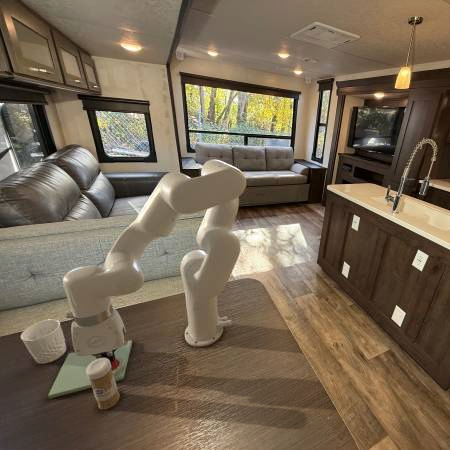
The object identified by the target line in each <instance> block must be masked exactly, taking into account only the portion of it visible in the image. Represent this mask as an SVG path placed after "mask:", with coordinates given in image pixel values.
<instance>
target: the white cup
mask: <svg viewBox="0 0 450 450" xmlns="http://www.w3.org/2000/svg"><path fill="white" fill-rule="evenodd" d="M20 339H21V341H22V342H23V344H24V346H25V347H26V350H27V351H28V352H29V354H30V355H31V356H32V358H33V360H34V361H35V362H36V363H37V364H40V365H45V364H48V363H52V362H54V361H56V360H58V359H59V358H61V357H62V356H63V355H64V354H65V352H66V351H67V343H66V339H65V336H64V332H63V328H62V325H61V321H59V320H58V319H56V318H50V319H44V320H41V321H38V322H36V323H33V324H31V325H30V326H28V327H26V328H25V329H24V330H23V331H22V332H21V334H20Z"/></svg>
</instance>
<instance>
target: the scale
mask: <svg viewBox="0 0 450 450" xmlns="http://www.w3.org/2000/svg"><path fill="white" fill-rule="evenodd" d="M132 345H133V340H132V339H130V340H129V339H128V343H127V345H125V346H122V347H120V348H118V349H117V350H116V351H115V352H114V354H115V358H116V359H117V361H118V367H117V368H116V369H114V370H113V371H112V373H113V375H114V379H115V382H117V381H121V380H124V379H125V374H126V370H127V366H128V362H129V357H130V353H131V350H132ZM95 360H97V359H96V357H95V356H92V355H88V356H77V355H76V353H75V351H74V352H69V353H67V356H66V358H65V360H64V362H63V364H62V365H61V368H60V370H59V371H58V375H57V376H56V378H55V380H54V383H53V385H52V386H51V389H50V390H49V392H48V395H47V397H48V399H53V398H57V397H60V396H64V395H68V394H72V393H76V392H79V391H84V390H88V389H90V388H92V385H91V382H90V379H89V378H88V377H87V374H86V369H87V367H88V365H89V364H90V363H92V362H93V361H95Z"/></svg>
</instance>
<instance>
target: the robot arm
mask: <svg viewBox="0 0 450 450" xmlns="http://www.w3.org/2000/svg"><path fill="white" fill-rule="evenodd" d="M246 187H247V178H246V176H245V174H244V173H243V171H242V170H240V169H239V168H237V167H236V166H234V165H231V164H229V163H227V162H224V161H222V160H219V159H209V160H206V162H204V164H203V165H202V167H201V171H200V176H196V177H190V176H189V175H186V174H184V173H182V172H178V171H170V172H167V173H166V174H164V175H163V176H162V177H161V179H160V180H159V182H158V183H157V185H156V187H155V188H154V190H153V191H152V192H151V195H150V196H149V198H148V199H147V201H146V203H145V204H144V205H143V207H142V209H141V211H140V212H139V214H138V215H137V217H136V218H135V220H134V221H133V222H131V224H129V225H128V226H127V228H125V229H124V230H123V231H122V232H121V234H120V235H119V236H118V238H117V239H116V240H115V242H114V244H113V245H112V247H111V249H110V250H109V252H108V254H107V255H106V258H105V260H104V269H103V268H101V267H100V266H98V265H83V266H79V267H76V268H73V269H71V270H70V271H68V272H66V273H65V274H64V276H63V278H62V285H63V289H64V293H65V295H66V299H67V301H68V304H69V307H70V310H71V311H69V312H66V314H65V317H66V319H73V320H72V322H71V327H70V329H71V330H70V331H71V341H72V345H73V350H74V352H75V353H76V355H77V356H88V355H92V356H95V357H96V359H99V358H108V359H109V360H110V363H111V366H112V362H114V361H115V354H114V352H115V351H116V350H117V349H118V348H120V347H122V346H125V345H127V343H128V341H129V339H128V338H127V337H126V335H127V331H126V327H125V324H124V321H123V318H122V317H121V315H120V314H119V312H118V310H117V309H116V308H114V307H113V302H112V298H111V297H118V296H120V297H121V296H126V295H131V294H133V293H136V292H138V291H139V290H140V289H141V288H142V287H143V286H144V283H145V275H144V272H143V270H142V267H141V264H140V262H139V260H140V259H141V257H142V255H143V254H144V252H145V250H146V249H147V247H148V246H149V245H150V244H151V243H152V242H153V241H154V240H156V239H158V238H167V237H169V236H170V235H171V233H172V232H173V230H174V228H175V227H176V225H177V224H178V222H179V220H180V219H181V217H182V215H191V214H197V213H200V212H204V211H206V212H205V214H204V217H203V219H202V221H201V224H200V226H199V229H198V231H197V233H196V236H195V237H196V243H197V244H198V246H199V247H200V249H201V250H200V249H195V250H191V251H189V252H188V253H186V254H185V255H184V256H183V258H182V260H181V262H180V266H179V267H180V270H179V271H180V275H181V280H182V285H183V289H184V296H185V305H186V314H187V315H186V316H187V323H188V325H187V327H186V328H185V331H184V339H185V341H186V343H187V344H188V345H190V346H192V347H199V348H200V347H201V348H203V347H207V346H210V345H212V344H214V343H215V342H217V341H218V340H219V339H220V338H221V336H222V335H223V332H224V327H231V326H233V320H232V319H228V316H227V315H226V316H223V317H221V316H219V310H218V295H219V294H221V293H222V292H223V291H224V289H225V288H226V286H227V284H228V282H229V280H230V278H231V275H232V273H233V270H234V269H235V266H236V264H237V262H238V259H239V257H240V254H241V242H240V239H239V237H238V236H237V235H236V234H235V233H234V232H233V231H232V227H233V225H234V222H235V220H236V216H237V215H238V212H239V211H238V210H239V205H240V198H239V197H240V196H242V195H243V194H244V191H245V190H246Z"/></svg>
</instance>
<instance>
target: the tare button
mask: <svg viewBox="0 0 450 450" xmlns="http://www.w3.org/2000/svg"><path fill="white" fill-rule="evenodd" d="M117 367H118V361H117V359H116V358H115V361H114V362H112V366H111V370H112V371H113V370H114V369H116V368H117Z"/></svg>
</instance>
